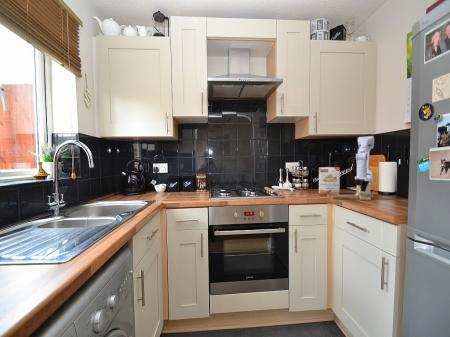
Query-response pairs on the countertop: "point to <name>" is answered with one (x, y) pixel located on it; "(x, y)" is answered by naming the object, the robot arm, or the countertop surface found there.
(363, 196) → the gauge
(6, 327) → the countertop surface
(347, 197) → the board
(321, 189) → the cracker box
